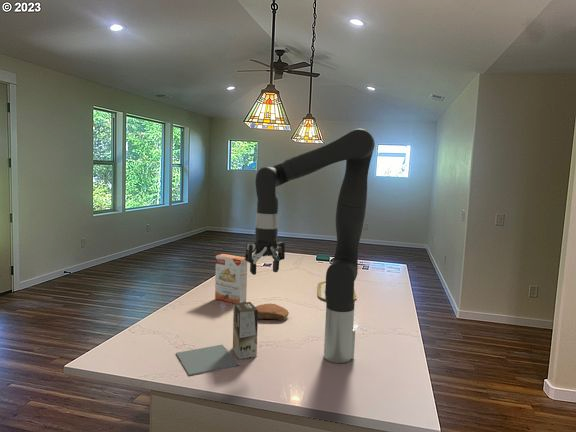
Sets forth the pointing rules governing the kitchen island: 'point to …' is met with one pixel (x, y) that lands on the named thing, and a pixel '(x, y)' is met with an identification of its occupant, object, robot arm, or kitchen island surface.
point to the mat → (206, 359)
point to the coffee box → (245, 329)
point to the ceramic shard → (271, 312)
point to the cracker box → (231, 278)
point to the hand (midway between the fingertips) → (264, 273)
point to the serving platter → (320, 290)
